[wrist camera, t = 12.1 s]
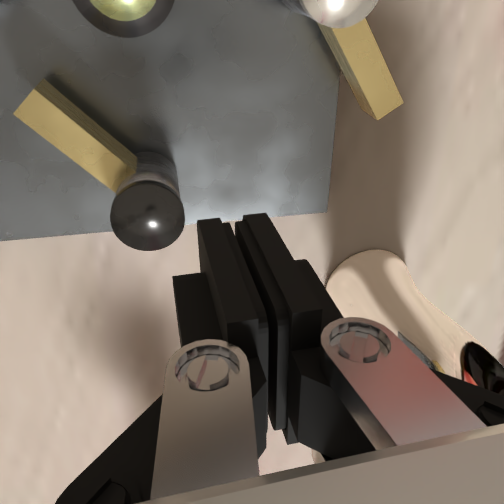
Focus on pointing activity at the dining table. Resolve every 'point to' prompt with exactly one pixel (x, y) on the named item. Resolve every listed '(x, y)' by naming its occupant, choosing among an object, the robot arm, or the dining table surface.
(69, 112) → the tan lever handle
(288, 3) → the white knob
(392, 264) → the beer glass
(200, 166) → the base plate
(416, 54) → the dining table surface
